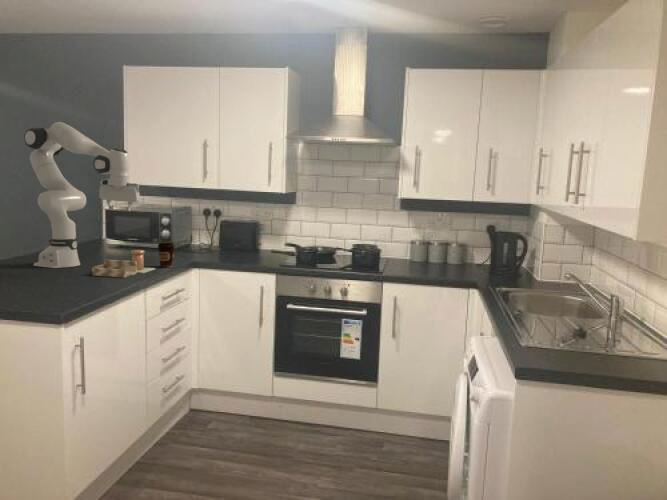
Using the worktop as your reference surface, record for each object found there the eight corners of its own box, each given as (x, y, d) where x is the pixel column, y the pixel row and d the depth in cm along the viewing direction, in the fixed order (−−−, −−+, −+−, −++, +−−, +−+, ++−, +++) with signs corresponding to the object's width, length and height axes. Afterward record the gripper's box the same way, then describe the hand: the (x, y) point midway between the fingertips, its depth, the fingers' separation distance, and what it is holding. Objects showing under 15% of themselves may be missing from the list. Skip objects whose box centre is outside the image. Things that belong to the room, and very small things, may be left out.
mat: (121, 271, 286) (121, 270, 286) (133, 267, 298) (133, 266, 298) (143, 273, 284) (143, 272, 284) (155, 269, 295) (155, 268, 295)
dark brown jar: (169, 268, 298) (169, 243, 296) (154, 267, 299) (154, 243, 297) (177, 266, 306) (177, 241, 304) (163, 265, 308) (162, 241, 306)
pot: (128, 270, 288) (128, 251, 287) (135, 268, 294) (135, 249, 293) (140, 270, 287) (140, 251, 286) (147, 268, 293) (146, 250, 292)
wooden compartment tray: (92, 275, 275) (91, 262, 274) (105, 271, 286) (105, 259, 285) (124, 277, 272) (124, 264, 271) (137, 273, 283) (136, 261, 282)
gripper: (142, 183, 285) (142, 211, 287) (104, 180, 288) (104, 208, 291) (135, 183, 279) (135, 212, 281) (97, 180, 282) (97, 209, 284)
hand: (119, 210), depth 286 cm, fingers open, 8 cm apart
